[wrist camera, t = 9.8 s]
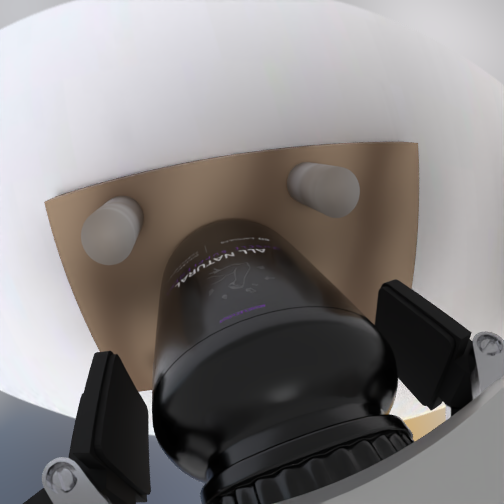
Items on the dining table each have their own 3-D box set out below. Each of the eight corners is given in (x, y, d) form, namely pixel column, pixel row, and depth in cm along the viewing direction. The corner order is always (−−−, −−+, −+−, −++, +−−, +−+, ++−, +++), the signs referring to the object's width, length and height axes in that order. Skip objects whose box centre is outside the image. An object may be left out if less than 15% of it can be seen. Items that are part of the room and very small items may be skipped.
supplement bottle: (210, 187, 12) (414, 441, 1) (320, 260, 15) (501, 427, 4) (136, 307, 13) (120, 568, 2) (246, 356, 16) (327, 551, 5)
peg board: (401, 141, 15) (455, 147, 11) (395, 305, 20) (432, 336, 16) (56, 196, 12) (13, 217, 8) (125, 377, 16) (119, 430, 12)
